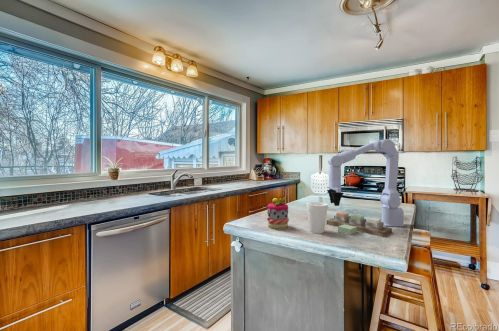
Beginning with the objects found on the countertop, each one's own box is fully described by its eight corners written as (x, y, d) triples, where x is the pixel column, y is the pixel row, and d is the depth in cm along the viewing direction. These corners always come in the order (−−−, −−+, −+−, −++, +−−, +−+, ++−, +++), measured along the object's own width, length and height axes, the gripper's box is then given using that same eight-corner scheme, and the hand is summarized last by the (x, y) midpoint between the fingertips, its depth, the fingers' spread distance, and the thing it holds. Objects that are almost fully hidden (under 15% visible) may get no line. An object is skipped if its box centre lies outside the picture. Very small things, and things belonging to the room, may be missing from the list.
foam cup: (323, 235, 113) (324, 206, 112) (303, 232, 117) (304, 204, 117) (329, 230, 121) (329, 203, 120) (310, 227, 125) (310, 201, 125)
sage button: (363, 222, 124) (364, 216, 124) (359, 223, 121) (359, 217, 121) (355, 220, 128) (355, 214, 127) (351, 221, 125) (351, 215, 125)
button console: (392, 232, 117) (392, 222, 117) (383, 236, 111) (383, 226, 111) (336, 220, 138) (336, 212, 138) (326, 224, 132) (326, 215, 132)
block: (356, 232, 118) (356, 226, 118) (350, 234, 114) (350, 229, 114) (344, 229, 122) (344, 224, 122) (337, 231, 118) (338, 226, 118)
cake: (263, 227, 125) (264, 197, 125) (272, 222, 134) (272, 194, 134) (284, 230, 120) (284, 199, 120) (291, 225, 129) (291, 196, 129)
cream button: (381, 225, 118) (381, 219, 118) (377, 227, 115) (377, 220, 115) (371, 223, 122) (371, 217, 121) (367, 225, 119) (367, 218, 119)
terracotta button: (348, 219, 130) (348, 213, 130) (344, 220, 127) (344, 214, 127) (340, 217, 134) (340, 211, 134) (336, 218, 131) (336, 213, 131)
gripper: (324, 177, 140) (323, 201, 140) (330, 179, 125) (330, 206, 126) (337, 177, 139) (336, 201, 140) (345, 179, 125) (344, 207, 125)
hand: (334, 204), depth 133 cm, fingers open, 7 cm apart
